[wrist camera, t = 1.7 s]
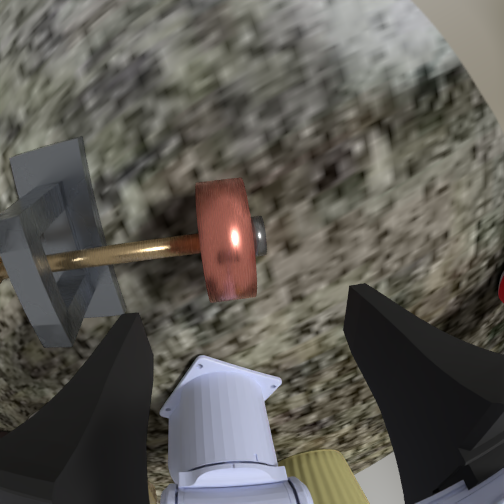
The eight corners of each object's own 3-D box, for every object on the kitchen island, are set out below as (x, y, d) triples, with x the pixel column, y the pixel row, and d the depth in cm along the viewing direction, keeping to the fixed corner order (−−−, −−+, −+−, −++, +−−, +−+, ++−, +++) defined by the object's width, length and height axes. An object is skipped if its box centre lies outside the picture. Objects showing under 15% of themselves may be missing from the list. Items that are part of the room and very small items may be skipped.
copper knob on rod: (22, 286, 19) (-13, 341, 14) (-6, 210, 16) (-57, 253, 11) (257, 258, 21) (276, 319, 15) (250, 164, 18) (271, 198, 12)
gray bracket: (66, 312, 21) (40, 373, 16) (15, 155, 15) (-43, 186, 10) (126, 307, 22) (110, 373, 16) (82, 136, 16) (32, 160, 10)
